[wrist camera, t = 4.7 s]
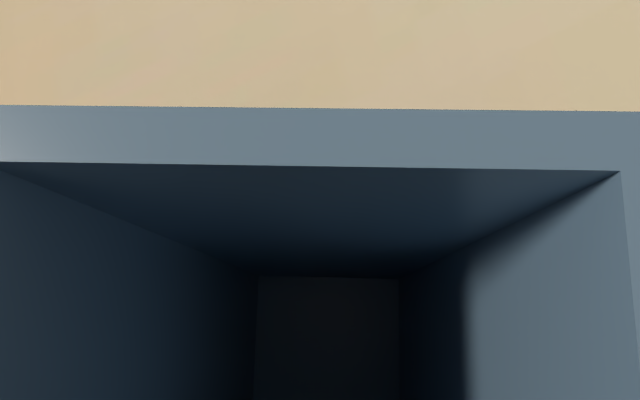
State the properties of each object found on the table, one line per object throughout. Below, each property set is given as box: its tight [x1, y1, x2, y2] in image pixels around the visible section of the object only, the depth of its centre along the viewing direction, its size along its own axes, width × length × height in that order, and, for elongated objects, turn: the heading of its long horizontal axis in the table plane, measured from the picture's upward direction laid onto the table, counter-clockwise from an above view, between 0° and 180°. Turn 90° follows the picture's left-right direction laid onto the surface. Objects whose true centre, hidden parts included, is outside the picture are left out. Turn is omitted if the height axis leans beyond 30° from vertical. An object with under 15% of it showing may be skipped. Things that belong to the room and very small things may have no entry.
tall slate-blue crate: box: [0, 105, 640, 400], centre depth 9 cm, size 5×5×13 cm
